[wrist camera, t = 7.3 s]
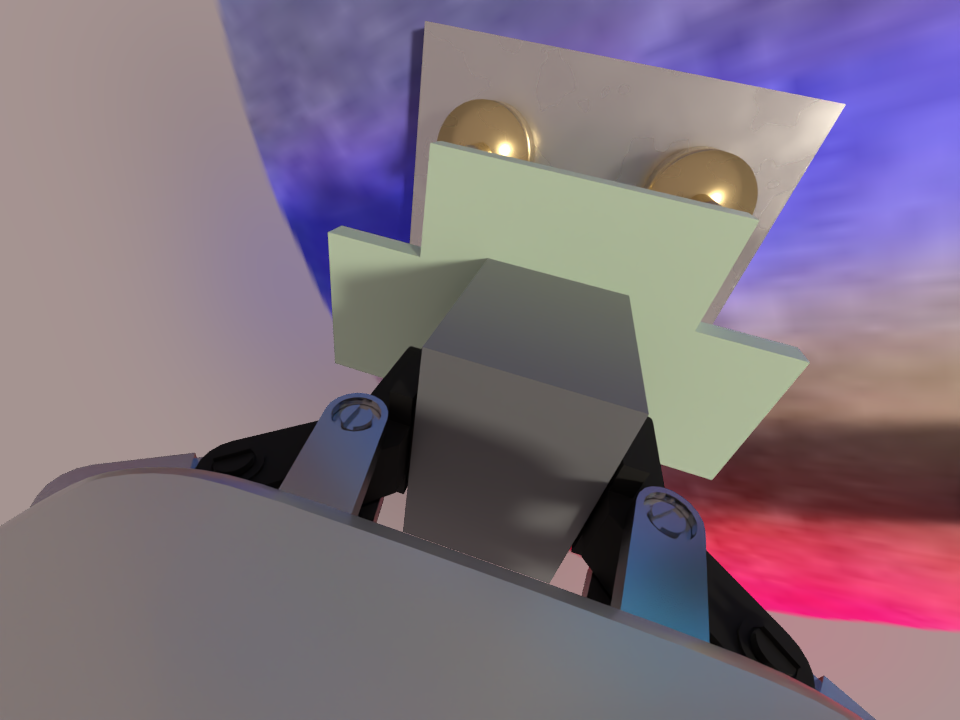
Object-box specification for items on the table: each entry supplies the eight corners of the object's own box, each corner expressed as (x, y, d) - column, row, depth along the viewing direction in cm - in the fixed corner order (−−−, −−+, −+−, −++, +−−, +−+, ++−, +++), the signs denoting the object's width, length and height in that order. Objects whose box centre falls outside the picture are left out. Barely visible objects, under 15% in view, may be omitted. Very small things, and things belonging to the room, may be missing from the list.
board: (879, 243, 9) (1180, 387, 4) (668, 511, 15) (699, 687, 11) (338, 116, 11) (131, 123, 6) (348, 407, 17) (252, 522, 12)
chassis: (832, 104, 18) (932, 102, 13) (662, 392, 28) (677, 459, 23) (433, 25, 20) (372, -6, 15) (410, 318, 31) (369, 363, 25)
